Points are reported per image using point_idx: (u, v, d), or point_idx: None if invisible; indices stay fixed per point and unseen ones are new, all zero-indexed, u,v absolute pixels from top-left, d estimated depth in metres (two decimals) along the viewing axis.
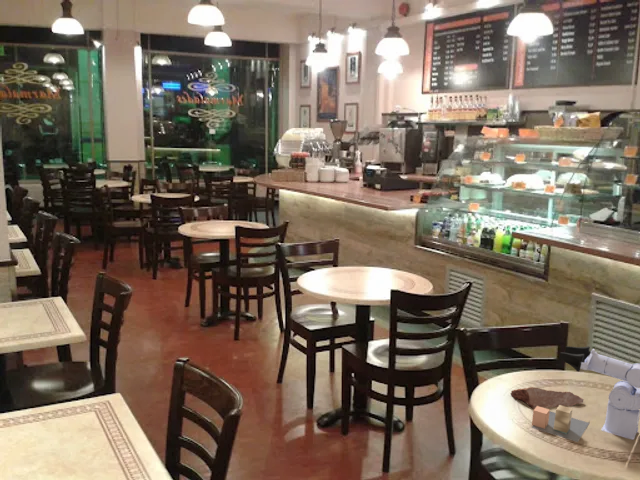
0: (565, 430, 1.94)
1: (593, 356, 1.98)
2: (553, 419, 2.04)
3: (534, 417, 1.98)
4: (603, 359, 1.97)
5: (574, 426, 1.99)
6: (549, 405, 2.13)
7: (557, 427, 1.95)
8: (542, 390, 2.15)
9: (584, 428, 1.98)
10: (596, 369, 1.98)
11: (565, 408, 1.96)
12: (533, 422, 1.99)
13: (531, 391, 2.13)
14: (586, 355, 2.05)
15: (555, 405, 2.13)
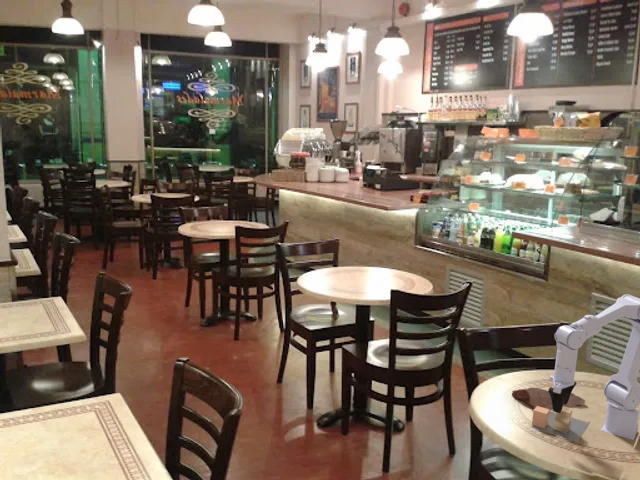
0: (565, 430, 1.94)
1: (554, 377, 1.88)
2: (553, 419, 2.04)
3: (534, 417, 1.98)
4: (555, 368, 1.87)
5: (574, 426, 1.99)
6: (550, 406, 2.12)
7: (557, 427, 1.95)
8: (543, 390, 2.14)
9: (584, 428, 1.98)
10: (567, 376, 1.85)
11: (565, 408, 1.96)
12: (533, 422, 1.99)
13: (532, 392, 2.13)
14: None
15: None
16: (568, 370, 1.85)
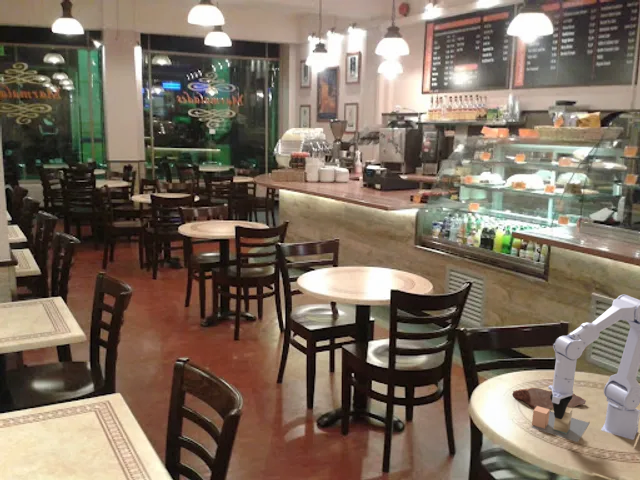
0: (565, 430, 1.94)
1: (553, 388, 1.88)
2: (553, 419, 2.04)
3: (534, 417, 1.98)
4: (554, 378, 1.88)
5: (574, 426, 1.99)
6: (551, 406, 2.12)
7: (557, 427, 1.95)
8: (544, 391, 2.14)
9: (584, 428, 1.98)
10: (565, 386, 1.85)
11: None
12: (533, 422, 1.99)
13: (533, 392, 2.13)
14: None
15: None
16: (567, 380, 1.85)
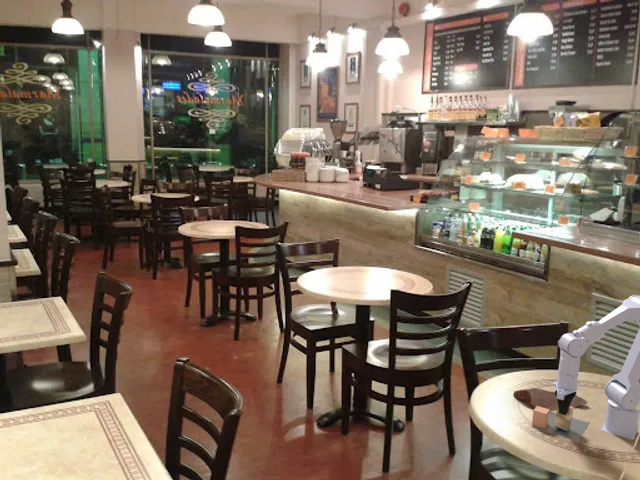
0: (566, 427, 1.94)
1: (557, 384, 1.93)
2: (553, 419, 2.04)
3: (534, 417, 1.98)
4: (558, 375, 1.92)
5: (574, 426, 1.99)
6: (551, 406, 2.12)
7: (558, 424, 1.96)
8: (544, 391, 2.14)
9: (584, 428, 1.98)
10: (569, 383, 1.90)
11: None
12: (533, 422, 1.99)
13: (533, 392, 2.13)
14: None
15: (557, 406, 2.12)
16: (571, 377, 1.89)
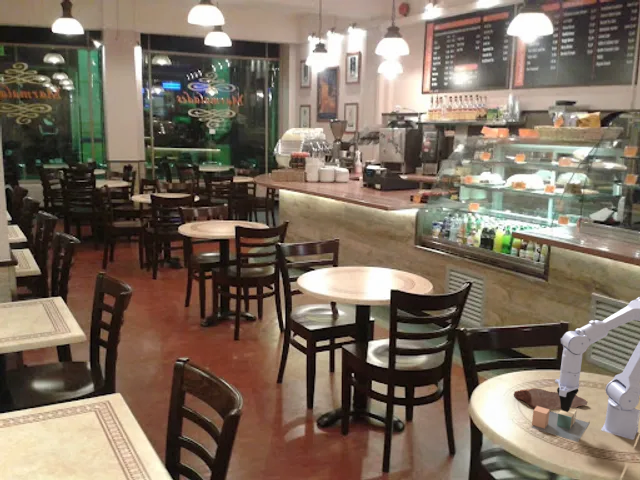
0: (570, 415, 1.98)
1: (559, 381, 1.95)
2: (553, 419, 2.04)
3: (534, 417, 1.98)
4: (561, 372, 1.94)
5: (574, 426, 1.99)
6: (552, 406, 2.12)
7: (562, 413, 1.99)
8: (545, 391, 2.14)
9: (584, 428, 1.98)
10: (572, 380, 1.92)
11: None
12: (533, 422, 1.99)
13: (534, 392, 2.12)
14: None
15: (558, 407, 2.12)
16: (573, 374, 1.92)
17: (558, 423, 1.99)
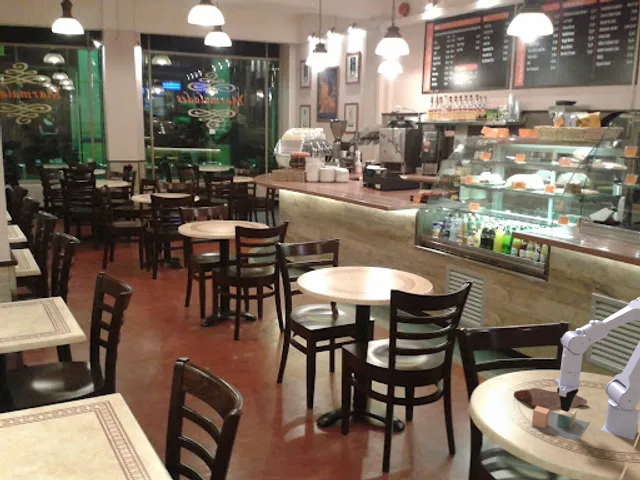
0: (570, 415, 1.98)
1: (559, 381, 1.95)
2: (553, 419, 2.04)
3: (534, 417, 1.98)
4: (561, 372, 1.95)
5: (574, 426, 1.99)
6: (552, 406, 2.12)
7: (562, 413, 1.99)
8: (545, 391, 2.14)
9: (584, 428, 1.98)
10: (572, 380, 1.92)
11: None
12: (533, 422, 1.99)
13: (534, 392, 2.13)
14: None
15: (558, 406, 2.13)
16: (573, 374, 1.92)
17: (558, 423, 1.99)
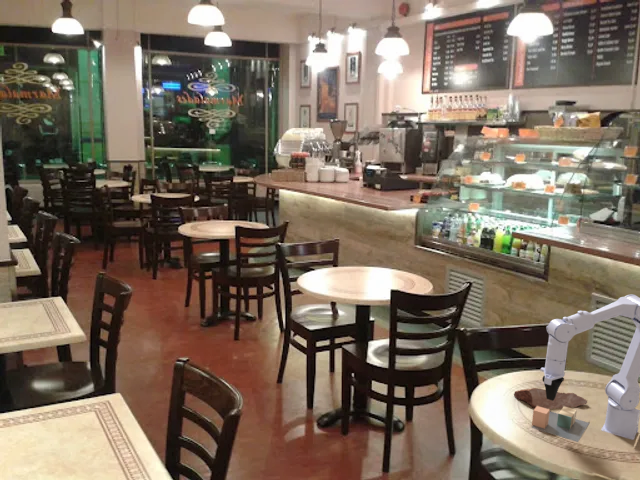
0: (570, 415, 1.98)
1: (545, 370, 1.93)
2: (553, 419, 2.04)
3: (534, 417, 1.98)
4: (546, 360, 1.93)
5: (574, 426, 1.99)
6: (552, 406, 2.12)
7: (562, 413, 1.99)
8: (545, 391, 2.14)
9: (584, 428, 1.98)
10: (557, 368, 1.90)
11: None
12: (533, 422, 1.99)
13: (534, 392, 2.13)
14: None
15: (558, 406, 2.13)
16: (558, 362, 1.90)
17: (558, 423, 1.99)
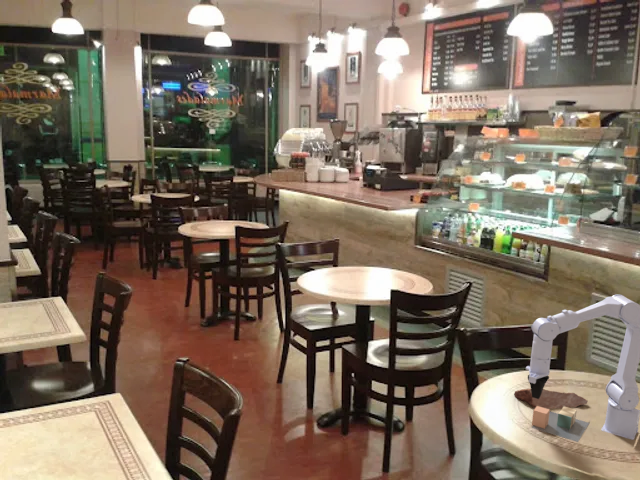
0: (570, 415, 1.98)
1: (530, 368, 1.94)
2: (553, 419, 2.04)
3: (534, 417, 1.98)
4: (531, 359, 1.94)
5: (574, 426, 1.99)
6: (552, 406, 2.12)
7: (562, 413, 1.99)
8: (545, 391, 2.14)
9: (584, 428, 1.98)
10: (542, 367, 1.91)
11: None
12: (533, 422, 1.99)
13: None
14: None
15: (558, 406, 2.13)
16: (543, 361, 1.91)
17: (558, 423, 1.99)
